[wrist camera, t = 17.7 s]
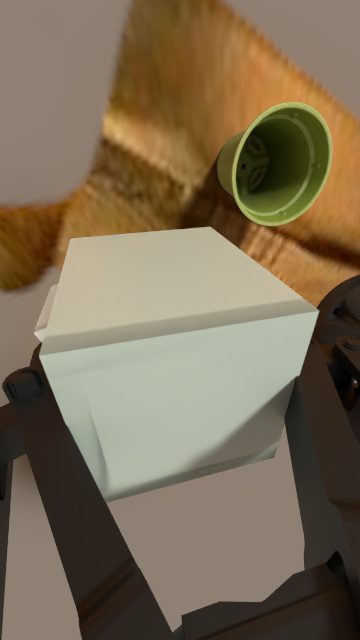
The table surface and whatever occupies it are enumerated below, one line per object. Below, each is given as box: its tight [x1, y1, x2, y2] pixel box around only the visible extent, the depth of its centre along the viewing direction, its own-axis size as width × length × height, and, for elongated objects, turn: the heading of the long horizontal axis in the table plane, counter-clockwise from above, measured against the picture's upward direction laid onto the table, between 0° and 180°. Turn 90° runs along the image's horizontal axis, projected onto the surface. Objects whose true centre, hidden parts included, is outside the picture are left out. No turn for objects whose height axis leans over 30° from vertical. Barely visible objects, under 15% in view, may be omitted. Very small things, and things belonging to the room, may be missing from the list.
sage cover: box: [39, 227, 319, 503], centre depth 14 cm, size 8×8×10 cm
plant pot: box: [217, 102, 332, 226], centre depth 27 cm, size 9×9×9 cm
